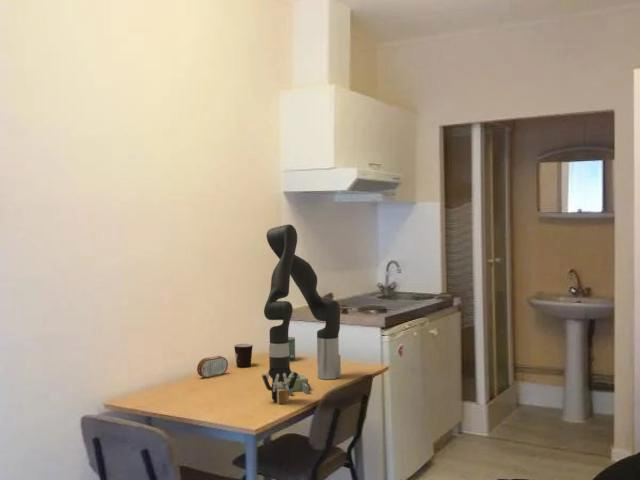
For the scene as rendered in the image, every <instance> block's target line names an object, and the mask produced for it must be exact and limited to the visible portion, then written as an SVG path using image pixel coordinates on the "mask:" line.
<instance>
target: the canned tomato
mask: <svg viewBox="0 0 640 480" xmlns="http://www.w3.org/2000/svg"><path fill="white" fill-rule="evenodd" d="M288 342H289V351H290V354H289V358H290V363H293V362H295V361H296V338H295V336H288Z"/></svg>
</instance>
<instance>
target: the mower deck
mask: <svg viewBox="0 0 640 480" xmlns="http://www.w3.org/2000/svg"><path fill="white" fill-rule="evenodd" d="M297 374H298V373H297ZM290 380H291V374H290V375H289V377H288V378H287V381H288V385H289V383H290ZM280 384H282V385H283V382H278V384H277V385H280ZM283 386H284V385H283ZM310 389H311V385H310V383H309V378H307V376H305V375H304V374H300V373H299V374H298V375H297V378H296V381H295V384H294V387H293V388H291V389H289V397H290V396H291V397H292V396H293V392H301V391H302V393H305V395H309V394H310Z"/></svg>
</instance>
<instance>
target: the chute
mask: <svg viewBox="0 0 640 480" xmlns="http://www.w3.org/2000/svg"><path fill="white" fill-rule="evenodd" d="M275 402H276V403H277V405H289V403H290V402H289V398H288V389H286V388H285V387H284V386H283V385H282V384H280V385H277V387H276V401H275Z"/></svg>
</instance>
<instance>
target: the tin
mask: <svg viewBox="0 0 640 480" xmlns="http://www.w3.org/2000/svg"><path fill="white" fill-rule="evenodd" d="M228 367H229V363H228V359H226V358H225V357H224V356H222V355H217V356H211V357H204V358H202V359H201V360H199V362H198V364H197V367H196V371H197V375H198V376H199V377H202V378H206V379H208V378H213V377H218V376H222V375H224V374H225V373H226V372H227V370H228Z"/></svg>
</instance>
